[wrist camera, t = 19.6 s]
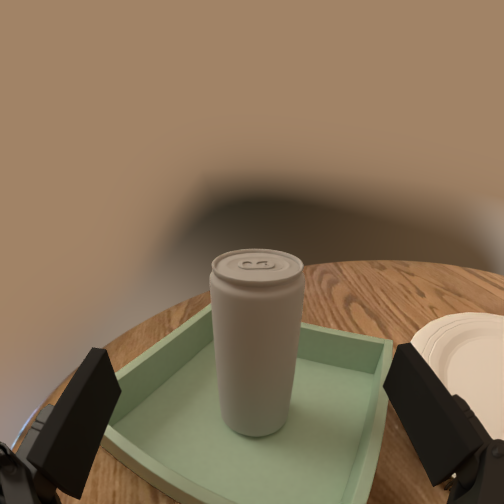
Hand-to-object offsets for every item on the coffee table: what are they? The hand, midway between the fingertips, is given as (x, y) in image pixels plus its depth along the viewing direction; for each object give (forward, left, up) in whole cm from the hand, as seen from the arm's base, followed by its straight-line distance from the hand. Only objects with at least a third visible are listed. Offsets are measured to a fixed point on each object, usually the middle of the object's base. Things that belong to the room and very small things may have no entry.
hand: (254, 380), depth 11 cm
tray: (-2, +4, -9) cm, 10 cm away
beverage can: (-2, +4, -8) cm, 9 cm away
